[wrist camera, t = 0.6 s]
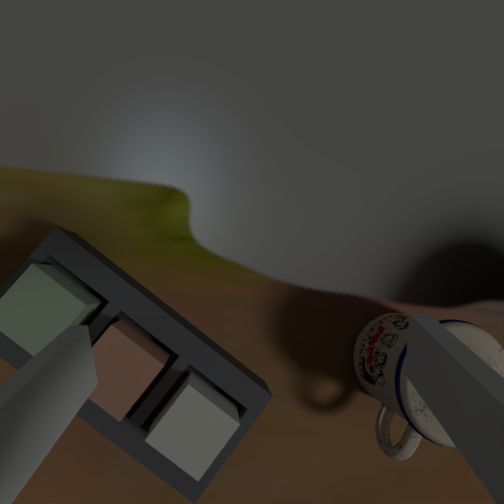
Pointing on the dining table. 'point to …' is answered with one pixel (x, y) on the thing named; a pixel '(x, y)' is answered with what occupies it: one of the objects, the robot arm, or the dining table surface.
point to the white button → (193, 426)
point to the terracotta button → (124, 367)
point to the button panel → (160, 332)
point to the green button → (43, 307)
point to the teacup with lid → (398, 385)
